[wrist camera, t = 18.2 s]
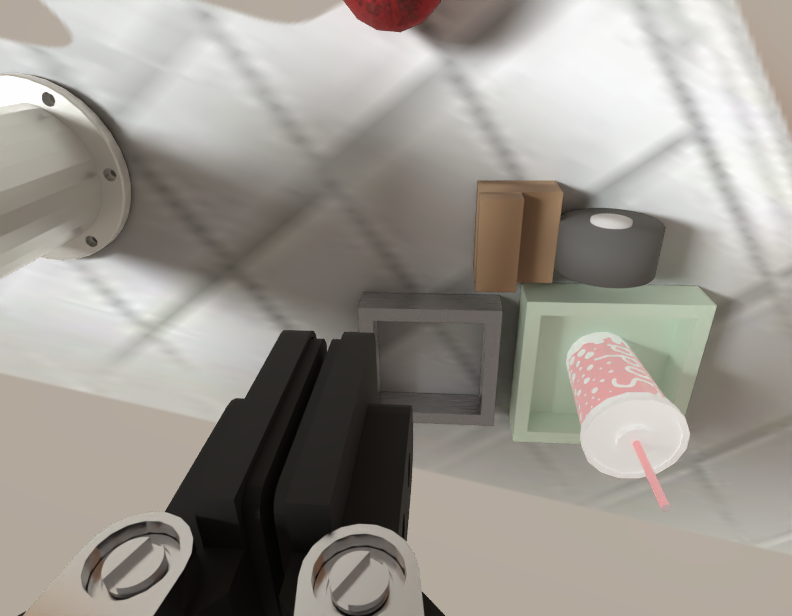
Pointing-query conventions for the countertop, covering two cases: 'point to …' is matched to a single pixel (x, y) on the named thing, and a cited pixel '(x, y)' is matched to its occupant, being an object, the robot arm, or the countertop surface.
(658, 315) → the tray
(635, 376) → the beverage cup
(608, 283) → the caster wheel
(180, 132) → the countertop surface
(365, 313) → the socket ring
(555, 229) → the block
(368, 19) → the onion
